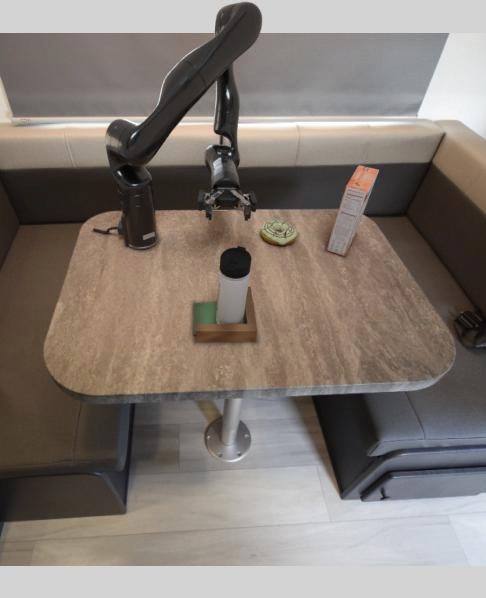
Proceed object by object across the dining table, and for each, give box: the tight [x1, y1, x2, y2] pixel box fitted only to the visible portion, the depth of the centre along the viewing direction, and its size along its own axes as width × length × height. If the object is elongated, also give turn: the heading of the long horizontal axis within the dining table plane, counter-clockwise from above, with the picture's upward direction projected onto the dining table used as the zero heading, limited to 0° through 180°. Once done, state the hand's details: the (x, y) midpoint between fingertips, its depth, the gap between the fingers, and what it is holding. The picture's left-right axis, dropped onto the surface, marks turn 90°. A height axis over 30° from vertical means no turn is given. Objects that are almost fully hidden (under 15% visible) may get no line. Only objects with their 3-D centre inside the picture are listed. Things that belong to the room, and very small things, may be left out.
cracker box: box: [325, 165, 380, 257], centre depth 99 cm, size 14×6×21 cm, turn 150°
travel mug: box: [216, 245, 253, 324], centre depth 75 cm, size 6×7×20 cm
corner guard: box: [192, 286, 258, 343], centre depth 82 cm, size 14×14×4 cm
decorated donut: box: [260, 219, 298, 247], centre depth 106 cm, size 10×11×4 cm
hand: (228, 217), depth 81 cm, fingers open, 8 cm apart
